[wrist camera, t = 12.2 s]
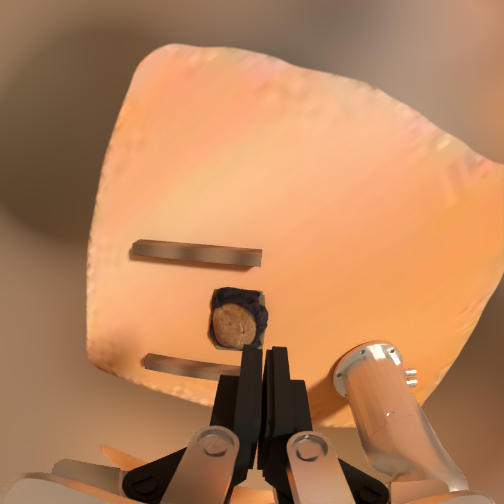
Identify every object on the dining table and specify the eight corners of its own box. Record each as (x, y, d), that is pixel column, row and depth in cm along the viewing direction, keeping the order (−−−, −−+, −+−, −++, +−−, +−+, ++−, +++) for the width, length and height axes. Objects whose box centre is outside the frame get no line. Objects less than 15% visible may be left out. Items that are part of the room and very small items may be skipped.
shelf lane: (261, 249, 37) (261, 255, 35) (249, 374, 43) (248, 384, 41) (139, 239, 37) (132, 243, 35) (150, 359, 43) (145, 368, 41)
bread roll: (265, 349, 42) (265, 364, 39) (211, 346, 42) (207, 360, 39) (269, 287, 39) (270, 299, 36) (209, 284, 39) (204, 295, 36)
